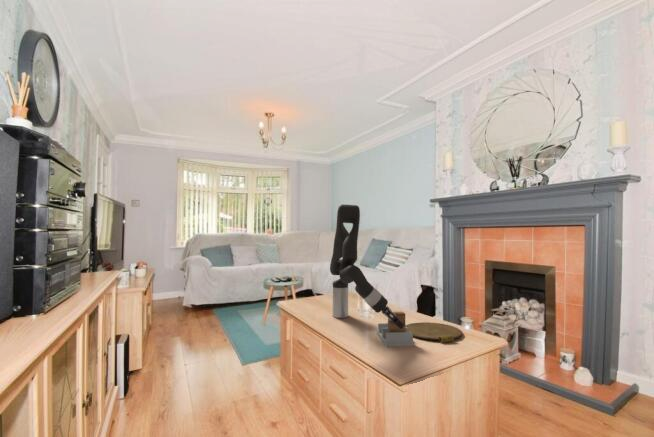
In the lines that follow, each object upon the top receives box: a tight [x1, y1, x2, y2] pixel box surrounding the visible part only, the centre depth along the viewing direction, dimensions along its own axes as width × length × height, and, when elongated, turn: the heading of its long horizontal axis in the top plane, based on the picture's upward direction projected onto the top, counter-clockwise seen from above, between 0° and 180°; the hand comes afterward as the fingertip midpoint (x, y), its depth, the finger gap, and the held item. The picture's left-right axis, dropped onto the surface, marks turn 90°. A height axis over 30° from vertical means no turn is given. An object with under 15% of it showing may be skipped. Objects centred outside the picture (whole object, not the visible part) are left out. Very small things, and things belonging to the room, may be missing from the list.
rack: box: [376, 322, 416, 348], centre depth 146 cm, size 16×13×6 cm
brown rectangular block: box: [387, 311, 406, 333], centre depth 143 cm, size 4×7×10 cm, turn 96°
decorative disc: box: [405, 321, 464, 344], centre depth 156 cm, size 29×3×30 cm
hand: (400, 325), depth 143 cm, fingers closed on brown rectangular block, 3 cm apart
